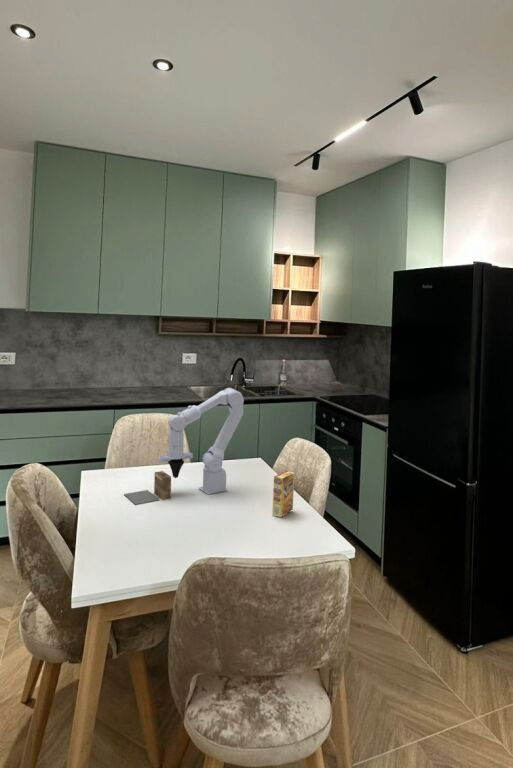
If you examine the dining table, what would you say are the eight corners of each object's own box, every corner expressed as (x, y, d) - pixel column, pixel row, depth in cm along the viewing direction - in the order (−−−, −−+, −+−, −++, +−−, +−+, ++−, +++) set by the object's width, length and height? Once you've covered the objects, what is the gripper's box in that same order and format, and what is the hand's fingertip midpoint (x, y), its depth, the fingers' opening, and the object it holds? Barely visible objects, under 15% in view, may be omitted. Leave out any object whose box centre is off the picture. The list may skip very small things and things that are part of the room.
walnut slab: (162, 492, 198) (162, 470, 196) (170, 498, 191) (171, 476, 190) (154, 493, 196) (154, 472, 194) (162, 499, 189) (163, 477, 188)
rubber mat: (147, 490, 198) (147, 489, 198) (159, 500, 188) (159, 499, 188) (123, 495, 192) (123, 494, 192) (135, 505, 183) (135, 504, 182)
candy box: (281, 518, 177) (283, 478, 175) (271, 515, 179) (273, 475, 177) (293, 511, 184) (295, 472, 182) (283, 508, 186) (285, 470, 184)
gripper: (187, 440, 201) (186, 471, 203) (155, 444, 193) (154, 476, 195) (195, 444, 196) (194, 476, 198) (162, 448, 187) (162, 482, 189)
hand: (175, 477), depth 196 cm, fingers closed
